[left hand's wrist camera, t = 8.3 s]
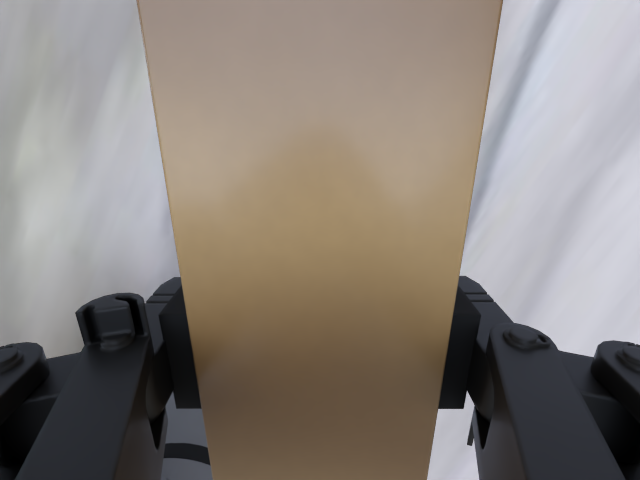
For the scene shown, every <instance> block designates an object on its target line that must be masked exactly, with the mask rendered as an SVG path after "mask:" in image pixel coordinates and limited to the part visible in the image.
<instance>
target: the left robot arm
mask: <svg viewBox="0 0 640 480" xmlns="http://www.w3.org/2000/svg"><path fill="white" fill-rule="evenodd" d="M76 317H77V320H78V324H79V327H80V331H81V334H82V338H83V341H84V345H85V346H84V348H83V349H82V351H81V352H79V353H75V354H70V355H65V356H60V357H55V358H49V359H46V357H45V354H44V351H43V348H42V347H41V346H40V345H38V344H37V343H29V342H24V343H17V344H9V345H6V346H2V347H0V480H213V477H212V471H211V465H210V459H209V452H208V446H207V440H206V433H205V427H204V421H203V415H202V408H201V402H200V396H199V389H198V383H197V377H196V371H195V364H194V358H193V352H192V345H191V339H190V333H189V327H188V320H187V314H186V308H185V301H184V295H183V289H182V283H181V277H174V278H172V279H170V280H169V281H167V282H165V283H164V284H162V285H161V286H160V287H159V288H158V289H157V290H156V291H155V292H154V293H153V296H151V297H150V298H149V299H148V300H147V301H146V303H145V304H144V299H143V298H142V297H141V296H140V295H138V294H133V293H116V294H112V295H107V296H103V297H100V298H98V299H95V300H92V301H90V302H89V303H87V304H85V305H83V306H82V307H81V308H80V309H79V310H78V311H77V312H76ZM467 391H468V393H469V395H470V397H471V399H472V401H473V403H474V405H475V406H474V411H473V416H472V421H471V426H470V431H469V436H468V442H467V445H470V446H472V443H473V439H474V441H475V449H476V457H477V465H478V472H479V480H640V345H638V344H636V345H635V344H634V343H630V342H621V341H604V342H602V343H601V344H599V345H598V347H597V350H596V353H595V356H594V357H589V356H584V355H578V354H573V353H568V352H563V351H559V350H558V349H557V347H556V345H555V344H554V343H553V341H552V340H551V339H550V338H549V337H548V336H546V335H545V334H543V333H542V332H540V331H538V330H536V329H534V328H531V327H529V326H525V325H521V324H517V323H513V321H512V320H511V319H510V318H509V317H508V316H507V315H506V314H505V312H504V311H503V310H502V309H501V308H500V307H499V306H498V305H497V303H496V302H494V300H493V299H492V298H491V297H490V296H489V295H487V292H486V291H485V290H484V289H483V288H482V287H481V286H480V284H478V283H477V282H475V281H473V280H472V279H470V278H468V277H466V276H459V280H458V286H457V293H456V299H455V305H454V312H453V318H452V324H451V330H450V337H449V343H448V349H447V356H446V362H445V368H444V375H443V381H442V387H441V393H440V400H439V406H438V409H463V408H464V403H465V398H466V393H467Z"/></svg>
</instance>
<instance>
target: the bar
mask: <svg viewBox="0 0 640 480" xmlns="http://www.w3.org/2000/svg"><path fill="white" fill-rule="evenodd" d="M502 4H503V0H137V6H138V12H139V18H140V25H141V31H142V37H143V44H144V50H145V56H146V62H147V69H148V75H149V81H150V88H151V94H152V100H153V106H154V113H155V119H156V125H157V132H158V138H159V144H160V151H161V157H162V163H163V169H164V176H165V182H166V188H167V195H168V201H169V207H170V213H171V220H172V226H173V232H174V239H175V245H176V251H177V257H178V264H179V270H180V276H181V283H182V289H183V295H184V301H185V308H186V314H187V320H188V327H189V333H190V339H191V345H192V352H193V358H194V364H195V371H196V377H197V383H198V389H199V396H200V402H201V408H202V415H203V421H204V427H205V433H206V440H207V446H208V452H209V459H210V465H211V471H212V477H213V480H427V475H428V469H429V463H430V456H431V450H432V444H433V437H434V431H435V425H436V419H437V412H438V406H439V400H440V393H441V387H442V381H443V375H444V368H445V362H446V356H447V349H448V343H449V337H450V330H451V324H452V318H453V312H454V305H455V299H456V293H457V286H458V280H459V274H460V268H461V261H462V255H463V249H464V242H465V236H466V230H467V224H468V217H469V211H470V205H471V198H472V192H473V186H474V180H475V173H476V167H477V161H478V154H479V148H480V142H481V136H482V129H483V123H484V117H485V110H486V104H487V98H488V92H489V85H490V79H491V73H492V66H493V60H494V54H495V48H496V41H497V35H498V29H499V22H500V16H501V10H502Z"/></svg>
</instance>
